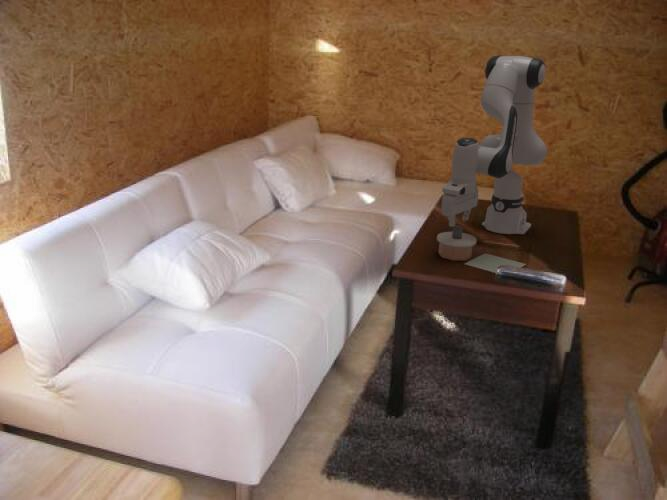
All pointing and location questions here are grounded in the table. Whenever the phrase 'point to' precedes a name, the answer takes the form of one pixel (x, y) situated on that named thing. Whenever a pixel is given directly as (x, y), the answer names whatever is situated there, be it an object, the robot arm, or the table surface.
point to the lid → (456, 238)
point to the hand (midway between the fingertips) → (458, 223)
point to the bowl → (455, 252)
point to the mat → (492, 262)
